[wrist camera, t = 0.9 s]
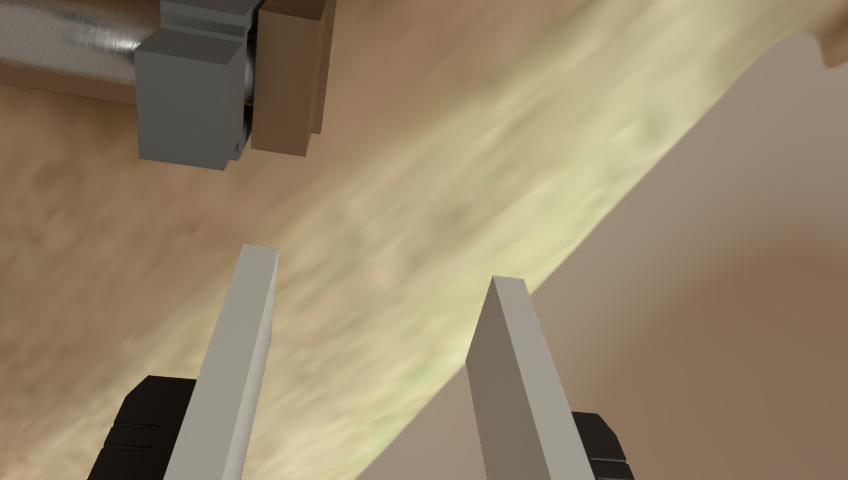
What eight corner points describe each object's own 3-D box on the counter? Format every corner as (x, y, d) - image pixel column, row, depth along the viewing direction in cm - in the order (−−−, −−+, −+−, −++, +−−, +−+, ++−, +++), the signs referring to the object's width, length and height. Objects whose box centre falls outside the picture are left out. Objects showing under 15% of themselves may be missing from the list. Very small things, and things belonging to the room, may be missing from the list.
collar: (200, -27, 27) (132, 18, 19) (268, -13, 27) (227, 35, 20) (199, 101, 30) (140, 182, 22) (260, 111, 31) (223, 194, 23)
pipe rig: (-177, -167, 26) (-387, -177, 19) (343, -57, 30) (333, -30, 23) (-117, 57, 32) (-265, 116, 24) (321, 127, 35) (307, 197, 28)
